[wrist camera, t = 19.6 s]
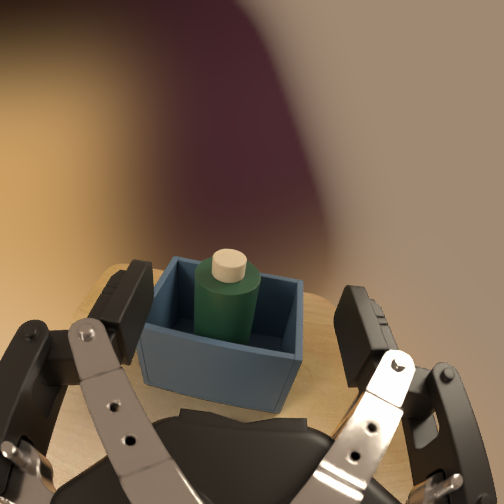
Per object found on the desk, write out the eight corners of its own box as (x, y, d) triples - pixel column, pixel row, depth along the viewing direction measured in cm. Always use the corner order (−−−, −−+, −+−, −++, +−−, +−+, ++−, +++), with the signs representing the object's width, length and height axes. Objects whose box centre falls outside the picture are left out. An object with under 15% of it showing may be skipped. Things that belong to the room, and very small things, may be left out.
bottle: (248, 346, 32) (267, 247, 25) (239, 384, 27) (259, 284, 21) (201, 336, 32) (206, 235, 26) (187, 372, 28) (186, 269, 21)
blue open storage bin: (286, 338, 34) (303, 280, 30) (279, 413, 26) (302, 360, 21) (175, 315, 35) (173, 255, 30) (144, 383, 26) (131, 324, 22)
